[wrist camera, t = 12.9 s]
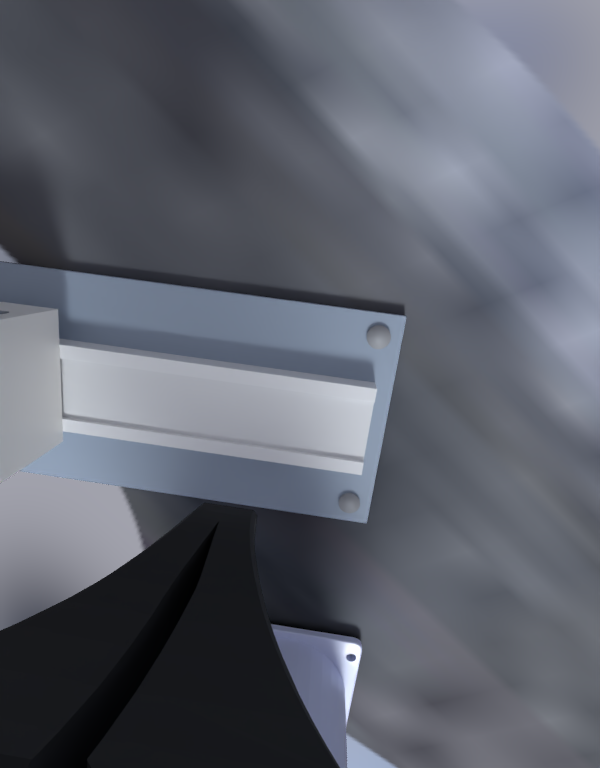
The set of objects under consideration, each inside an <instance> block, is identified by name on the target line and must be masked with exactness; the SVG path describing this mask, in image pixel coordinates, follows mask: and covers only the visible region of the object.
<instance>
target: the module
mask: <svg viewBox="0 0 600 768" xmlns="http://www.w3.org/2000/svg"><path fill="white" fill-rule="evenodd" d="M61 442H63V424H62V398H61V372H60V346H59V320H58V309H54V308H46V307H38V306H31V305H23V304H15V303H8V302H0V483H2V482H4V481H5V480H7V479H8V478H10V477H11V476H12V475H14V474H16V473H17V472H18V471H20V470H21V469H23V468H24V467H26V466H27V465H29V464H30V463H32V462H33V461H35V460H36V459H38V458H39V457H41V456H42V455H44V454H45V453H46V452H48V451H49V450H51V449H52V448H54V447H55V446H57V445H58V444H60V443H61Z"/></svg>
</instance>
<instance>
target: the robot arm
mask: <svg viewBox="0 0 600 768" xmlns="http://www.w3.org/2000/svg"><path fill="white" fill-rule="evenodd" d="M256 522H257V514H256V513H255V512H254V510H248V509H242V508H235V507H229V506H222V505H215V504H209V503H204V504H202V505H201V506H199V507H198V508H197V509H196V510H195V511H193V512H192V513H191V514H190V515H189V516H187V517H186V518H185V519H184V520H183V521H181V522H180V523H179V524H178V525H176V526H175V527H174V528H173V529H172V530H170V531H169V532H168V533H167V534H165V535H164V536H163V537H161V538H160V539H159V540H157V541H156V542H155V543H154V544H152V545H151V546H150V547H148V548H147V549H146V550H144V551H143V552H142V553H140V554H139V555H137V556H136V557H134V558H133V559H131V560H130V561H129V562H127V563H126V564H124V565H123V566H121V567H120V568H118V569H117V570H116V571H114V572H113V573H111V574H109V575H108V576H106V577H105V578H103V579H101V580H100V581H98V582H97V583H95V584H93V585H91V586H89V587H88V588H86V589H84V590H82V591H81V592H79V593H77V594H75V595H74V596H72V597H70V598H68V599H66V600H64V601H62V602H60V603H58V604H56V605H54V606H52V607H50V608H48V609H46V610H44V611H42V612H40V613H38V614H36V615H34V616H31V617H29V618H28V619H25V620H23V621H21V622H19V623H17V624H15V625H12V626H10V627H8V628H6V629H3V630H1V631H0V768H347V747H346V725H347V720H348V716H349V711H350V706H351V701H352V696H353V692H354V687H355V682H356V677H357V673H358V668H359V663H360V658H361V654H362V643H361V641H360V640H359V639H357V638H354V637H349V636H343V635H336V634H330V633H324V632H318V631H311V630H305V629H299V628H293V627H286V626H280V625H274V624H271V623H270V620H269V617H268V613H267V610H266V606H265V603H264V599H263V594H262V590H261V586H260V581H259V576H258V570H257V563H256V556H255V546H254V540H255V531H256ZM348 654H354V655H348Z"/></svg>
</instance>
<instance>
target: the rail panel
mask: <svg viewBox="0 0 600 768" xmlns="http://www.w3.org/2000/svg"><path fill="white" fill-rule="evenodd" d="M0 302H8V303H15V304H23V305H31V306H38V307H46V308H54V309H58V320H59V346H60V372H61V398H62V424H63V442H61V443H60V444H58V445H57V446H55V447H54V448H52V449H51V450H49V451H48V452H46V453H45V454H44V455H42V456H41V457H39V458H38V459H36V460H35V461H33V462H32V463H30V464H29V465H27V466H26V467H24V468H23V469H21V470H20V471H22V472H29V473H36V474H42V475H49V476H55V477H62V478H69V479H75V480H83V481H89V482H95V483H102V484H108V485H115V486H122V487H128V488H135V489H141V490H148V491H155V492H161V493H168V494H175V495H181V496H188V497H195V498H201V499H208V500H214V501H221V502H228V503H234V504H241V505H248V506H254V507H261V508H267V509H274V510H281V511H287V512H294V513H301V514H307V515H314V516H321V517H327V518H334V519H340V520H347V521H354V522H360V523H367V519H368V514H369V509H370V503H371V498H372V493H373V488H374V483H375V478H376V472H377V467H378V462H379V457H380V452H381V446H382V441H383V436H384V431H385V426H386V421H387V415H388V410H389V405H390V400H391V395H392V389H393V384H394V379H395V374H396V369H397V364H398V358H399V353H400V348H401V343H402V338H403V333H404V327H405V322H406V316H405V315H398V314H391V313H383V312H376V311H368V310H361V309H354V308H346V307H339V306H331V305H324V304H316V303H309V302H301V301H294V300H286V299H279V298H271V297H264V296H256V295H249V294H241V293H234V292H226V291H219V290H211V289H204V288H196V287H189V286H181V285H174V284H167V283H159V282H152V281H144V280H137V279H129V278H122V277H114V276H107V275H99V274H92V273H84V272H77V271H69V270H62V269H54V268H47V267H39V266H32V265H24V264H17V263H9V262H2V261H0Z"/></svg>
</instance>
